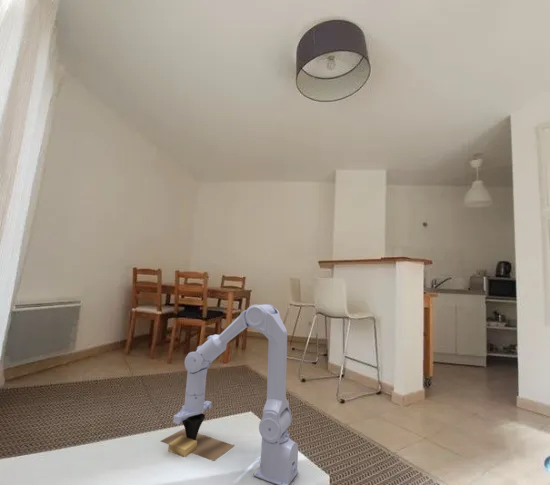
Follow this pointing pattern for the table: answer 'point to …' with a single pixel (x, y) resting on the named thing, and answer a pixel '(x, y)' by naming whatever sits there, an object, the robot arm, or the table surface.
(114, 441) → the table surface
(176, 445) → the tile
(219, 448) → the deck
